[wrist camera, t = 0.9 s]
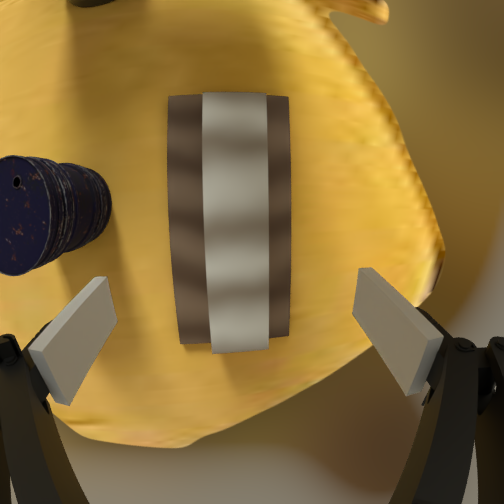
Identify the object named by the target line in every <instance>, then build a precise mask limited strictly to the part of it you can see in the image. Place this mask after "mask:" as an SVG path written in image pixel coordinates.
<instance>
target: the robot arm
mask: <svg viewBox="0 0 504 504" xmlns="http://www.w3.org/2000/svg"><path fill="white" fill-rule="evenodd" d="M68 1H69V2H70V3H71V4H73V5H75V6H78V7H92V6H98V5H102V4H105V3H108V2H111V1H114V0H68ZM352 314H353V316H354V317H355V319H356V320H357V322H358V323H359V324H360V326H361V327H362V329H363V330H364V332H365V333H366V335H367V336H368V338H369V339H370V341H371V342H372V344H373V345H374V347H375V348H376V350H377V351H378V353H379V354H380V356H381V357H382V359H383V360H384V362H385V363H386V365H387V367H388V368H389V370H390V371H391V373H392V374H393V376H394V377H395V379H396V381H397V382H398V384H399V385H400V387H401V388H402V390H403V392H404V393H405V395H406V396H408V395H411V394H414V393H418V392H421V391H422V389H423V386H424V384H425V382H426V380H427V382H428V383H429V385H430V386H431V387H430V389H429V391H428V393H427V395H426V397H425V399H424V401H423V403H422V406H424V409H423V413H422V416H421V420H420V424H419V427H418V430H417V434H416V437H415V439H414V442H413V445H412V448H411V452H410V454H409V457H408V459H407V462H406V465H405V467H404V470H403V472H402V475H401V477H400V480H399V482H398V484H397V487H396V489H395V491H394V493H393V496H392V498H391V500H390V502H389V504H461V503H462V500H463V496H464V492H465V488H466V484H467V479H468V475H469V470H470V465H471V459H472V453H473V446H474V439H475V447H476V458H477V470H478V471H477V472H478V504H504V337H498V336H497V337H493V338H491V339H490V341H489V344H488V346H487V347H485V348H477V347H476V346H475V344H474V343H473V342H471V341H470V340H468V339H465V338H459V337H458V338H453V337H452V336H451V335H450V334H449V333H448V332H447V331H445V329H444V328H443V327H442V326H441V325H440V324H438V323H437V322H436V321H435V320H434V319H433V318H432V317H431V316H430V315H429V314H428V313H427V312H425V311H424V310H422V309H420V308H418V307H414V306H413V305H412V304H411V303H410V302H409V301H408V300H406V299H405V298H404V297H403V296H402V295H401V294H400V293H399V292H398V291H397V290H396V289H395V288H394V287H393V286H391V285H390V284H389V283H388V282H387V281H386V280H385V279H384V278H383V277H382V276H380V275H379V274H378V273H377V272H376V271H375V270H374V269H373V268H372V267H371V268H359V271H358V279H357V286H356V293H355V300H354V306H353V312H352ZM117 322H118V321H117V317H116V313H115V309H114V305H113V301H112V297H111V292H110V288H109V283H108V278H107V277H94V278H93V279H92V280H91V281H90V282H89V283H88V284H87V285H86V286H85V287H84V288H83V289H82V290H81V291H80V292H79V293H78V294H77V295H76V296H75V297H74V298H73V299H72V300H71V301H70V302H69V303H68V305H67V306H66V307H65V308H64V309H63V310H62V311H61V312H60V313H59V314H58V315H57V316H56V317H55V318H54V320H52V321H50V322H49V323H47V324H45V325H44V326H43V328H42V329H41V330H40V331H39V332H38V333H37V334H36V335H35V337H34V338H33V339H32V340H31V341H30V342H29V343H28V344H27V346H26V347H25V348H24V349H23V350H22V351H21V349H20V347H19V345H18V342H17V340H16V338H15V336H14V335H12V334H4V335H1V336H0V504H11V489H10V477H11V481H12V484H13V488H14V492H15V495H16V498H17V502H18V504H89V502H88V500H87V498H86V496H85V495H84V492H83V490H82V489H81V486H80V484H79V482H78V480H77V478H76V476H75V473H74V471H73V469H72V467H71V464H70V462H69V460H68V457H67V454H66V452H65V449H64V447H63V444H62V441H61V439H60V436H59V433H58V430H57V427H56V424H55V421H54V418H53V414H52V411H51V408H50V404H49V402H48V401H47V399H46V397H47V396H48V394H49V392H50V394H51V396H52V397H53V399H54V401H55V402H56V403H60V404H64V405H68V406H70V404H71V402H72V400H73V398H74V396H75V395H76V393H77V391H78V389H79V387H80V385H81V383H82V382H83V380H84V378H85V376H86V374H87V373H88V371H89V369H90V367H91V366H92V364H93V362H94V360H95V359H96V357H97V355H98V353H99V352H100V350H101V348H102V347H103V345H104V343H105V342H106V340H107V338H108V337H109V335H110V333H111V332H112V330H113V328H114V327H115V325H116V323H117ZM495 386H496V392H495V389H494V388H495ZM424 404H425V405H424Z"/></svg>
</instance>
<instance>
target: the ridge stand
mask: <svg viewBox="0 0 504 504" xmlns="http://www.w3.org/2000/svg"><path fill="white" fill-rule="evenodd" d="M167 178H168V212H169V232H170V248H171V262H172V274H173V285H174V295H175V304H176V313H177V322H178V330H179V337H180V344H198V343H211V345H212V354H218V353H232V352H244V351H255V350H265V349H269V338H275V337H284V336H289V319H290V284H291V157H290V123H289V98H288V97H286V96H272V95H266V93H253V92H203V94H197V95H177V96H169V100H168V133H167Z"/></svg>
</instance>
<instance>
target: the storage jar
mask: <svg viewBox="0 0 504 504" xmlns="http://www.w3.org/2000/svg"><path fill="white" fill-rule="evenodd" d="M111 207H112V201H111V194H110V191H109V188H108V185H107V184H106V182H105V180H104V179H103V178H102V177H101V176H100V175H99V174H98V173H97V172H95V171H94V170H92V169H89V168H85V167H82V166H80V165H75V164H72V163H59V164H58V163H56V162H54V161H52V160H49V159H44V158H38V157H24V156H17V155H10V156H6V157H3V158H1V159H0V273H2V274H5V275H8V276H20V275H22V274H25V273H27V272H29V271H31V270H32V269H36V268H39V267H41V266H43V265H45V264H47V263H49V262H52V261H53V260H55V259H57V258H58V257H59V256H60V255H61V254H62V253H66V252H70V251H73V250H75V249H78V248H80V247H82V246H84V245H86V244H87V243H89V242H91V241H93V240H94V239H96V238H97V237H98V236H99V235H100V234H101V233H102V232H103V231H104V229H105V228H106V226H107V224H108V221H109V218H110V215H111Z"/></svg>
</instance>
